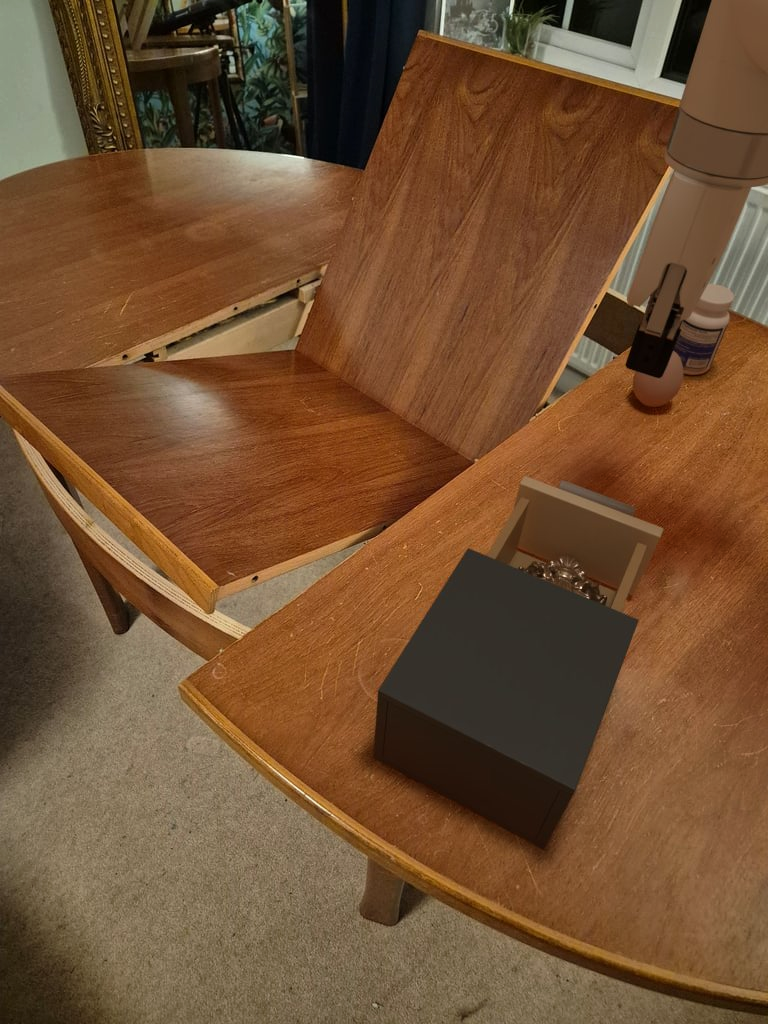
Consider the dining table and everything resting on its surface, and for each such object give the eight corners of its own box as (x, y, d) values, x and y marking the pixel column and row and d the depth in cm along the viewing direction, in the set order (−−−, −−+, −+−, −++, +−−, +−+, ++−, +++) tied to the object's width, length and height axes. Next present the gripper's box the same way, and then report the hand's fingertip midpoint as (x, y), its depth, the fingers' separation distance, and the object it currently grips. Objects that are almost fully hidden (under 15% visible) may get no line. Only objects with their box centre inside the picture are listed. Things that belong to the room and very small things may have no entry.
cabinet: (454, 620, 65) (467, 547, 58) (605, 689, 61) (639, 619, 54) (372, 757, 56) (377, 690, 49) (543, 850, 51) (575, 790, 45)
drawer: (525, 508, 74) (540, 448, 68) (648, 556, 70) (675, 497, 64) (450, 636, 62) (461, 577, 57) (592, 702, 59) (618, 645, 53)
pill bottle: (677, 345, 97) (704, 275, 90) (717, 364, 95) (748, 294, 88) (654, 362, 94) (680, 291, 87) (695, 382, 92) (725, 310, 85)
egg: (678, 401, 89) (699, 349, 84) (661, 423, 86) (682, 370, 80) (636, 384, 91) (655, 332, 86) (619, 405, 88) (636, 352, 83)
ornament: (609, 587, 66) (621, 560, 63) (593, 646, 61) (604, 620, 58) (522, 557, 68) (530, 530, 65) (500, 612, 63) (507, 585, 60)
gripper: (694, 101, 56) (625, 316, 69) (644, 166, 47) (575, 400, 60) (798, 123, 54) (706, 340, 67) (768, 195, 44) (668, 431, 58)
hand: (645, 368), depth 63 cm, fingers closed
